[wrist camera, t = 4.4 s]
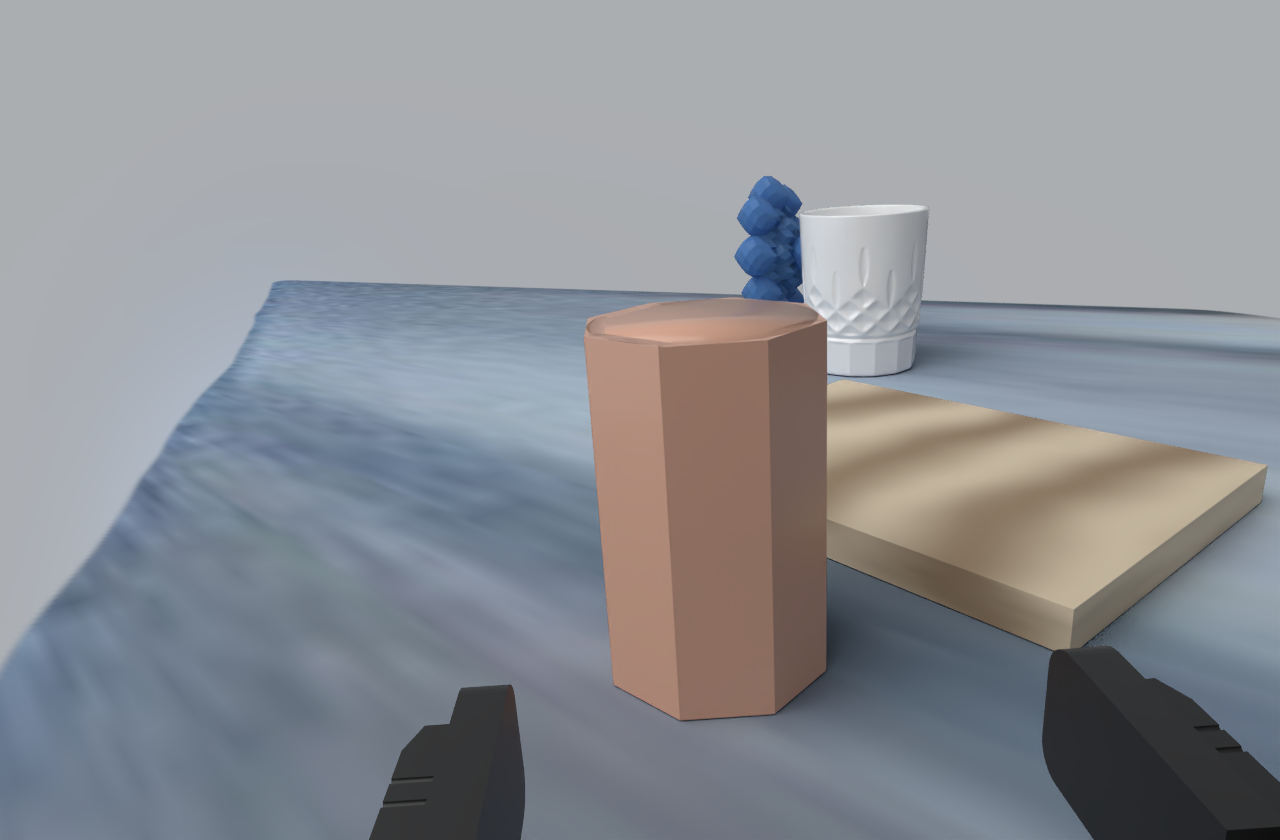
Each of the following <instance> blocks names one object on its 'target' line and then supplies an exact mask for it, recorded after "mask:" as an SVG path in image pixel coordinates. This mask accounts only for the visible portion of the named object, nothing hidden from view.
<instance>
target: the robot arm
mask: <svg viewBox="0 0 1280 840" xmlns="http://www.w3.org/2000/svg"><path fill="white" fill-rule="evenodd" d="M1042 744H1043V752H1044V757H1045V761H1046V765H1047V768H1048V770H1049V773H1050V775H1051V777H1052V779H1053V781H1054V783H1055V784H1056V786H1057V787H1058V789H1059V790H1060V792H1061V793H1062V794H1063V796H1064V797H1065V799H1066V800H1067V802H1068V803H1069V805H1070V806H1071V807H1072V809H1073V810H1074V812H1075V813H1076V815H1077V816H1078V818H1079V819H1080V820H1081V822H1082V823H1083V825H1084V826H1085V828H1086V829H1087V831H1088V832H1089V833H1090V835H1091V836H1092V838H1093V839H1094V840H1280V782H1279V781H1278V780H1277V779H1276V778H1274V777H1273V776H1272V775H1271V774H1270V773H1269V772H1268V771H1267V770H1266V769H1265V768H1264V767H1263V766H1262V765H1261V764H1260V763H1259V762H1258V761H1257V760H1256V759H1254V758H1253V757H1252V756H1251V755H1250V754H1249V753H1248V752H1243V751H1242V748H1241V745H1240V744H1239V743H1238V742H1237V741H1236V740H1234V739H1233V738H1232V737H1231V736H1230V735H1229V734H1228V733H1227V732H1226V731H1225V730H1220V728H1219V724H1218V723H1217V722H1216V721H1214V720H1213V719H1212V718H1211V717H1210V716H1209V715H1208V714H1207V713H1206V712H1205V711H1204V710H1203V709H1202V708H1201V707H1200V706H1199V705H1198V704H1197V703H1195V702H1194V701H1193V700H1192V699H1191V698H1189V697H1187V696H1185V695H1184V694H1182V693H1180V692H1178V691H1176V690H1175V689H1173V688H1171V687H1169V686H1168V685H1166V684H1164V683H1162V682H1160V681H1159V680H1157V679H1155V678H1152V679H1145V678H1144V677H1143V676H1142V675H1141V674H1140V673H1139V672H1138V671H1137V670H1136V669H1135V668H1134V667H1133V666H1132V665H1131V664H1130V663H1129V662H1128V661H1127V660H1126V659H1125V658H1124V657H1123V656H1122V655H1121V654H1120V653H1119V652H1118V651H1117V650H1115V649H1114V648H1112V647H1110V646H1100V647H1085V648H1070V649H1057V650H1055V651H1054V652H1053V653H1052V655H1051V658H1050V662H1049V671H1048V681H1047V692H1046V702H1045V713H1044V723H1043V734H1042ZM524 809H525V777H524V766H523V758H522V750H521V742H520V734H519V727H518V719H517V711H516V703H515V695H514V691H513V687H512V685H498V686H483V687H468V688H461V690H460V691H459V694H458V697H457V701H456V704H455V707H454V711H453V714H452V717H451V720H450V724H444V725H429V726H424V727H423V728H422V729H421V731H420V732H419V733H418V734H417V735H416V736H415V737H414V738H413V739H412V740H411V741H410V742H409V744H408V745H407V746H406V747H405V748H404V749H403V750H402V752H401V754H400V757H399V760H398V762H397V765H396V768H395V771H394V773H393V776H392V783H391V784H389V787H388V790H387V792H386V795H385V798H384V800H383V808H381V809H380V811H379V814H378V817H377V819H376V822H375V825H374V827H373V830H372V833H371V836H370V838H369V840H520V839H521V832H522V826H523V819H524Z"/></svg>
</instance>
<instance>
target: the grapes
mask: <svg viewBox="0 0 1280 840" xmlns="http://www.w3.org/2000/svg"><path fill="white" fill-rule="evenodd" d="M748 198H749V200H748V201H747V202H746V203H745V204H744V206H743V207H742V209H741V211H740V213H739V214H738V217H737V219H738V221H739V222H740V224H741V225H742V227H743V228H744V229H745V231H746V232H747V233H748V234H750V235H751V236H750V237H749V238H747V239H746V240H745V241H743V243H742V244H741V245H740V247H739V248H738V250H737V252H736V254H735V259H736V261H737V262H738V264H739V265H740V266H741V268H742V269H743V270H744V271H745V273H747V274H748V275H750V276H752V277H753V278H751V279H750V280H749V281H748V283H747V284H746V286H745V287H744V289H743V291H742V295H743V297H744V298H746V299H758V300H770V301H782V302H794V303H804V297H803V295H802V294H801V293H800V291H799V290H798V289H797V287H798V286H799V285H801V284H802V262H801V241H800V222H799V218H797V217H796V216H795V215H796V213H797V212H798V210H799V209H800V207H801V205H802V202H801V201H800V199H799V198H798V197H797V195H796V194H795V193H794V191H793V190H791V189H790V188H789V187H787V186H786V185H782V184H781V183H780V182H779V181H777V180H776V179H775V178H773V177H772V176H764V177H763V178H761V179H760V180H759V181H758V182H757V183H756V184H755V186H754V188H753V189H752V191H751V193H750V195H749V197H748Z"/></svg>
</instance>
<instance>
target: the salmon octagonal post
mask: <svg viewBox="0 0 1280 840" xmlns="http://www.w3.org/2000/svg"><path fill="white" fill-rule="evenodd" d="M584 343H585V355H586V367H587V378H588V390H589V402H590V414H591V425H592V437H593V449H594V460H595V472H596V484H597V496H598V507H599V519H600V531H601V543H602V554H603V566H604V578H605V589H606V601H607V613H608V625H609V636H610V648H611V660H612V671H613V683H614V685H615V686H617V687H619V688H621V689H622V690H624V691H626V692H628V693H630V694H632V695H634V696H636V697H637V698H639V699H641V700H643V701H645V702H647V703H649V704H650V705H652V706H654V707H656V708H658V709H660V710H662V711H663V712H665V713H667V714H669V715H671V716H673V717H675V718H676V719H678V720H680V721H681V720H695V719H710V718H724V717H739V716H754V715H769V714H775V713H777V712H778V711H779V710H780V709H781V708H782V707H784V706H785V705H786V704H787V703H788V702H790V701H791V700H792V699H793V698H794V697H795V696H797V695H798V694H799V693H800V692H801V691H802V690H804V689H805V688H806V687H807V686H808V685H810V684H811V683H812V682H813V681H814V680H815V679H817V678H818V677H819V676H820V675H821V674H822V673H824V672H825V671H826V579H827V320H826V319H825V318H823V317H822V316H821V315H820V314H818V313H817V312H816V311H815V310H814V309H812V308H811V307H810V306H809V305H807V304H806V303H794V302H782V301H770V300H758V299H746V298H719V299H704V300H689V301H674V302H659V303H648V304H644V305H640V306H636V307H632V308H628V309H624V310H619V311H615V312H611V313H607V314H603V315H599V316H595V317H591V318H588V320H587V325H586V330H585V335H584Z"/></svg>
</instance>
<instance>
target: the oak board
mask: <svg viewBox="0 0 1280 840" xmlns="http://www.w3.org/2000/svg"><path fill="white" fill-rule="evenodd" d="M1267 467H1268V465H1264V464H1259V463H1254V462H1249V461H1244V460H1239V459H1235V458H1230V457H1225V456H1220V455H1215V454H1210V453H1205V452H1200V451H1195V450H1190V449H1185V448H1180V447H1175V446H1170V445H1165V444H1160V443H1155V442H1151V441H1146V440H1141V439H1136V438H1131V437H1126V436H1121V435H1116V434H1111V433H1106V432H1101V431H1096V430H1091V429H1086V428H1081V427H1076V426H1071V425H1066V424H1062V423H1057V422H1052V421H1047V420H1042V419H1037V418H1032V417H1027V416H1022V415H1017V414H1012V413H1007V412H1002V411H997V410H992V409H987V408H982V407H978V406H973V405H968V404H963V403H958V402H953V401H948V400H943V399H938V398H933V397H928V396H923V395H918V394H913V393H908V392H903V391H898V390H894V389H889V388H884V387H879V386H874V385H869V384H864V383H859V382H854V381H849V380H844V379H843V380H840V381H837V382H834V383H830V384H827V558H830V559H832V560H834V561H837V562H839V563H842V564H844V565H847V566H849V567H851V568H854V569H856V570H859V571H861V572H864V573H866V574H869V575H871V576H873V577H876V578H878V579H881V580H883V581H886V582H888V583H890V584H893V585H895V586H898V587H900V588H903V589H905V590H908V591H910V592H912V593H915V594H917V595H920V596H922V597H925V598H927V599H929V600H932V601H934V602H937V603H939V604H942V605H944V606H946V607H949V608H951V609H954V610H956V611H959V612H961V613H964V614H966V615H968V616H971V617H973V618H976V619H978V620H981V621H983V622H985V623H988V624H990V625H993V626H995V627H998V628H1000V629H1003V630H1005V631H1007V632H1010V633H1012V634H1015V635H1017V636H1020V637H1022V638H1024V639H1027V640H1029V641H1032V642H1034V643H1037V644H1039V645H1041V646H1044V647H1046V648H1049V649H1051V650H1054V651H1055V650H1057V649H1070V648H1081V647H1082V646H1083V645H1084V644H1086V643H1087V642H1088V641H1089V640H1091V639H1092V638H1093V637H1094V636H1096V635H1097V634H1098V633H1099V632H1100V631H1102V630H1103V629H1104V628H1105V627H1107V626H1108V625H1109V624H1110V623H1112V622H1113V621H1114V620H1115V619H1117V618H1118V617H1119V616H1120V615H1122V614H1123V613H1124V612H1125V611H1127V610H1128V609H1129V608H1130V607H1132V606H1133V605H1134V604H1135V603H1137V602H1138V601H1139V600H1140V599H1141V598H1143V597H1144V596H1145V595H1146V594H1148V593H1149V592H1150V591H1151V590H1153V589H1154V588H1155V587H1156V586H1158V585H1159V584H1160V583H1161V582H1163V581H1164V580H1165V579H1166V578H1168V577H1169V576H1170V575H1171V574H1173V573H1174V572H1175V571H1176V570H1178V569H1179V568H1180V567H1181V566H1182V565H1184V564H1185V563H1186V562H1187V561H1189V560H1190V559H1191V558H1192V557H1194V556H1195V555H1196V554H1197V553H1199V552H1200V551H1201V550H1202V549H1204V548H1205V547H1206V546H1207V545H1209V544H1210V543H1211V542H1212V541H1214V540H1215V539H1216V538H1217V537H1219V536H1220V535H1221V534H1222V533H1223V532H1225V531H1226V530H1227V529H1228V528H1230V527H1231V526H1232V525H1233V524H1235V523H1236V522H1237V521H1238V520H1240V519H1241V518H1242V517H1243V516H1245V515H1246V514H1247V513H1248V512H1250V511H1251V510H1252V509H1253V508H1255V507H1256V506H1257V505H1258V504H1260V503H1261V502H1262V496H1263V490H1264V484H1265V479H1266V473H1267Z"/></svg>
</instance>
